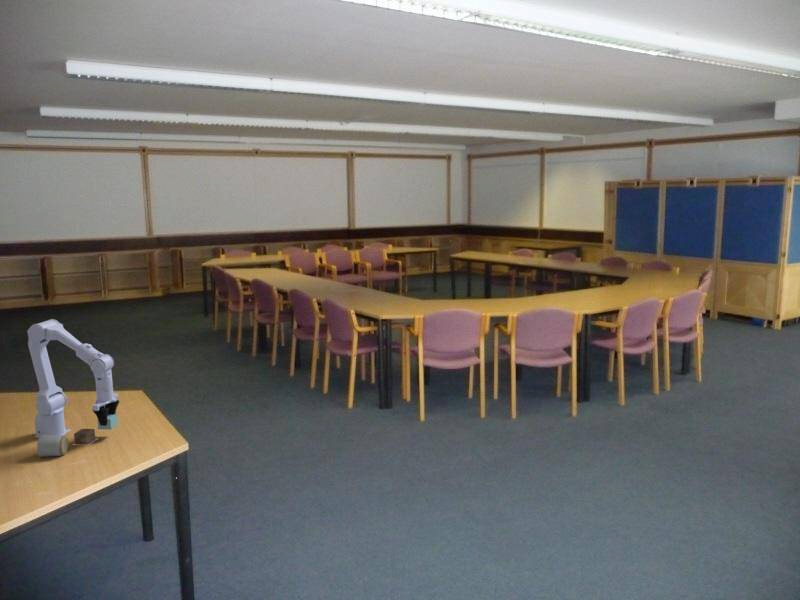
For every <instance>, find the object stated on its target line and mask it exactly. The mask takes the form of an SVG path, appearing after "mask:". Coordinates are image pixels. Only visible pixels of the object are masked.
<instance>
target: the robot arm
mask: <svg viewBox="0 0 800 600" xmlns="http://www.w3.org/2000/svg"><path fill="white" fill-rule="evenodd" d="M26 332H27V337H28V339H27V340H28V341H27V345H28V349H29V353H30V354H29V355H30V357H31V362H32V365H33V369H34V372H35V373H34V374H35V377H36V380H37V384H38V387H39V391H38V392H37V394H36V396H35V399H36V404H35V408H36V411H37V413H36V415H35V418H34V425H35V434H36V435H35V438H37V439H39V438H40V436H41V435H64V436H65V435H66V434H68V432H70V431H71V429H70V428H66V423H65V421H66V420H65V413H64V410H65V406H66V405H67V402H68V399H67V396H66V394H65V393H64V391H63V388H62V387H60V386H58V385H57V384H56V381H55V380H56V379H55V377H54V373H53V368H52V365H51V361H50V357H49V353H48V348H47V345H48V344H49V342H50V341H59V343H61V344H63V345H65V346H67V347H68V348H70V349H72V350H73V351H75V356H76V357H77V358H79V359H80V360H82V361H83V362H84V363H86V364H87V365H88V366H89V367H90V371H92V373H93V376H94V381H95V390H96V391H95V394H96V400H95V402H94V404H93V405H92V412H93V413H94V414H95V416H96V418H97V419H98V420H99V423H100V425H101V426H106V425H107V415H108V414H112V415H116V413H117V409H118V407H119V404H120V400H119V393H118V392H114V386H113V385H114V384H113V383H114V381H113V373H112V368H113V367H114V366H115V360H114V358H113V357H112V356H111V355H110V354H107V353H102V352H101V351H99V350H97V349H96V348H95V347H93V345H92V344H90V343H82V342H81V341H79V340H78V339H77V338H75V336H73V335H72V334H71V333H70V332H69V331H67V330H66V329H65V328H64V324H63V323H60V322H59V321H58V320H56V319H53V318H51V319H47V320H45V321H42V322H39V323H34V324H32V325H31V326H30V327H29V328H28V330H27V331H26Z"/></svg>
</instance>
